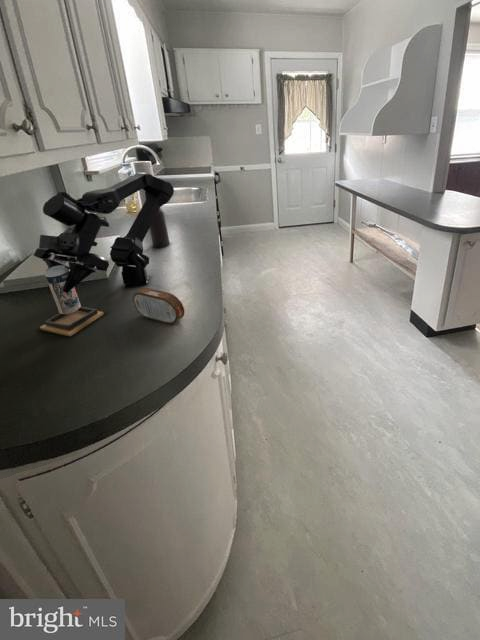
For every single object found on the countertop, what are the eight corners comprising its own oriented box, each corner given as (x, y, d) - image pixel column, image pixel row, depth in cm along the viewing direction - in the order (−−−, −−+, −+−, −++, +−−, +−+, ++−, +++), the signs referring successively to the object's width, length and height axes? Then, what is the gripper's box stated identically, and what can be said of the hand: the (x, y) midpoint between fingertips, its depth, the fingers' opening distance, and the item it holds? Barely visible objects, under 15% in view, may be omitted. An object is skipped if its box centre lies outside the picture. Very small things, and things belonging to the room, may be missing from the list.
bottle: (154, 243, 135) (145, 198, 127) (170, 241, 136) (162, 197, 128) (152, 248, 128) (142, 201, 121) (169, 246, 130) (160, 200, 122)
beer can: (67, 317, 76) (51, 274, 71) (55, 313, 78) (38, 271, 73) (85, 307, 80) (71, 266, 75) (73, 303, 82) (59, 263, 77)
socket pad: (76, 308, 86) (74, 302, 85) (104, 314, 83) (102, 308, 82) (40, 329, 77) (37, 323, 76) (70, 336, 74) (67, 329, 73)
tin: (187, 321, 79) (182, 293, 76) (179, 328, 76) (173, 299, 73) (143, 310, 84) (137, 283, 81) (134, 316, 82) (127, 289, 78)
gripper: (28, 217, 75) (-5, 276, 70) (85, 222, 70) (55, 286, 65) (67, 236, 86) (41, 289, 80) (120, 242, 80) (96, 299, 75)
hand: (57, 290), depth 75 cm, fingers closed on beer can, 5 cm apart
